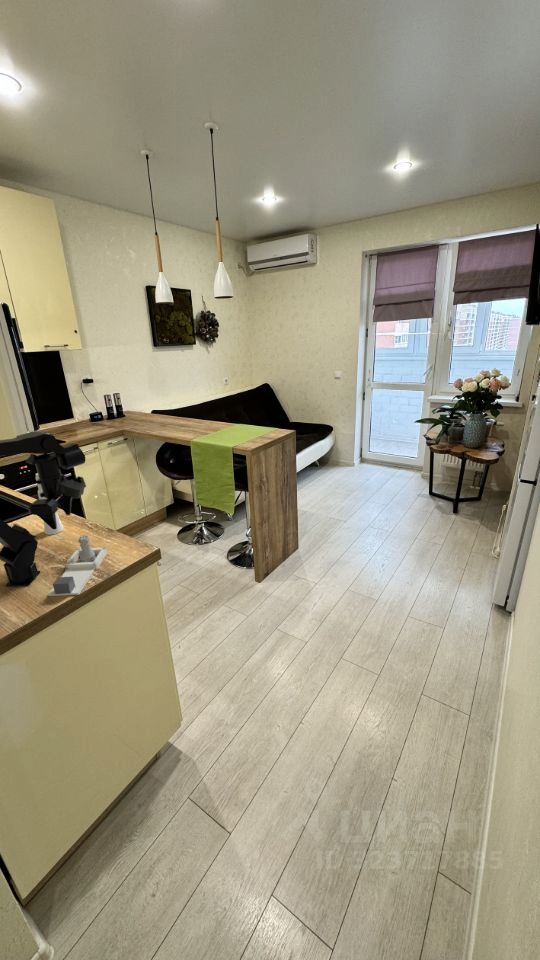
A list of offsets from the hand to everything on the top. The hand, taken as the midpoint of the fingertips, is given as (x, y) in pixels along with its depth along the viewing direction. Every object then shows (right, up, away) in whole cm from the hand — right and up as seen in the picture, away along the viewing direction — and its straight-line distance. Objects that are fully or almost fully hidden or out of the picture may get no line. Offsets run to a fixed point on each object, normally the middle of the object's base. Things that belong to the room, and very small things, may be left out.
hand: (61, 521), depth 115 cm
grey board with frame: (+8, -15, -5) cm, 17 cm away
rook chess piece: (+7, -12, +2) cm, 14 cm away
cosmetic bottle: (-14, -6, +20) cm, 25 cm away
